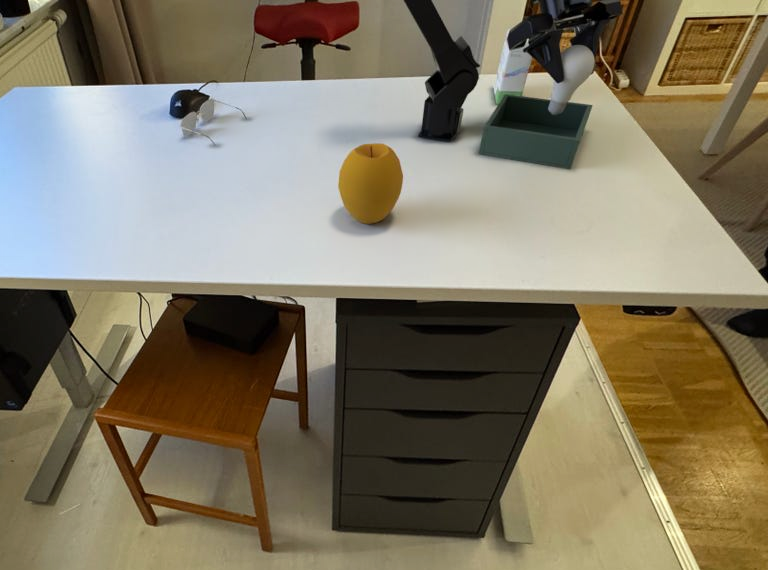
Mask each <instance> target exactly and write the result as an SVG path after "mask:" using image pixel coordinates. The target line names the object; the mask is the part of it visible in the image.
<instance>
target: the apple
mask: <svg viewBox="0 0 768 570" xmlns="http://www.w3.org/2000/svg"><path fill="white" fill-rule="evenodd" d="M403 182H404V174H403V169H402V166H401V161H400V158H399V157H398V155H397V154H396V152H395V151H394V150H393V148H392V147H390V146H389V145H387V144H385V143H381V142H379V143H376V142H375V143H364V144H361V145H358V146H356V147H355V148H354V149H352V150H351V151H350V152H349V153H348V155H347V156H346V157H345V158H344V160H343V162H342V165H341V167H340V169H339V175H338V184H337V185H338V187H337V188H338V191H339V195H340V199H341V201H342V203H343V206H344V208H345V209H346V210H347V212H348V213H349V215H350V216H351V217H352V218H353V219H354V220H355V221H357V222H359V223H361V224H365V225H366V224H367V225H370V224H375V223H378V222H380V221H382V220H384V219H385V218H387V216H389V214H390V213H391V212H392V210H393V209H394V207H395V206H396V204H397V202H398V200H399V198H400V195H401V193H402V188H403V184H404V183H403Z"/></svg>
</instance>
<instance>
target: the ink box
mask: <svg viewBox="0 0 768 570" xmlns="http://www.w3.org/2000/svg"><path fill="white" fill-rule="evenodd" d="M511 29H512V28H509V29H508V30H507V32H506V36H505V39H504V43H503V48H502V52H501V55H500V60H499V64H498V68H497V72H496V76H495V81H494V84H493V93H494V98H495V104H496V105H498V104H499V103H500V101H501V100H502V98H503V97H504V95H505V94H507V95H515V96H523V93H524V91H525V90H524V89H525V85H526V83H527V79H528V75H529V71H530V68H531V64H532V60H533V57H532V56H530V55H529V54H528V53H527V52H526V53H524V52H523V49H524V48H526V47H527V46H529V44H528V41H529V39H527V42H526V44H525V46H524V47H522V48H519V49H515V50H510V51H509V46H508V42H507V37H508V34H509V30H511Z"/></svg>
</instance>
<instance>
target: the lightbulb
mask: <svg viewBox="0 0 768 570" xmlns="http://www.w3.org/2000/svg"><path fill="white" fill-rule="evenodd" d="M560 52H561V58H562V64H563V71H564V81H563V82H561V83H556V81H555V80H554V79H553V78H552V80H553V81H552V83H553V86H552V92H551V95H550V100H551V101H550V104H549V107H548V110H549V111H550V112H551V114H552V115H557V114H560V113H562V112H563V110H564V109H565V106H566V104H567V102H570V101H571V99H572V97H573V95H574V93H575V92H576V91H577V89H579V87H581V86H582V85H583V84H584V83H585V82H586V81H587V80H588V79H589V77H590V76H591V75H592V74H591V73H592V71H593V68H594V69H595V67H594V62H595V63H596V60H594V56H593V53H592V52H591V50H590V49H589V48H587V47H586V46H583V45H574V46H572V45H570V46H568V47H566V48H564V49H563V50H562V51H560ZM590 74H591V75H590Z"/></svg>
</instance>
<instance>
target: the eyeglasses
mask: <svg viewBox="0 0 768 570" xmlns="http://www.w3.org/2000/svg"><path fill="white" fill-rule="evenodd" d="M215 102H217V103H220V104H223V105H225V106H229V107H232V108H234V109H236V110H239V111H241V112H242V114H243V117H244V118H245V119H246V120H247V119H248V118H247V117H246V115H245V112H244V111H243V109H241V108H239V107H236V106H233V105H231V104H228V103H224V102H222V101H219V100H217V99H214V98H209V99H208V100H206V101H205V102H203V103H202V104H201V106H200V107H199V110H198V111H197V112H195V111H191V112H190V113H188V114H187V115H185V116H184V117H183V118H182V119H181V121H180V124H179V125H178V126H179V128H180V129H181V132H182V135H183V137H185V138H187V137H189V136H190V135H191V134H193V133H195V134H198V135H201V136H204V137H206V138H208V139H209V140H210V141H211V143H212V144H213V146H216V144H215V142H214V141H213V140H212V138H210V137H209V136H208V135H206V134H203V133H199V132H197V131H195V130H196V128H197V124H199V121H200V118H201V120H202V122H203V123H207V122H208V121H210V120H211V119H212V118H213V116H214V115H215V114H214V113H215ZM198 113H199V114H200V117H199V116H197V114H198Z"/></svg>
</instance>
